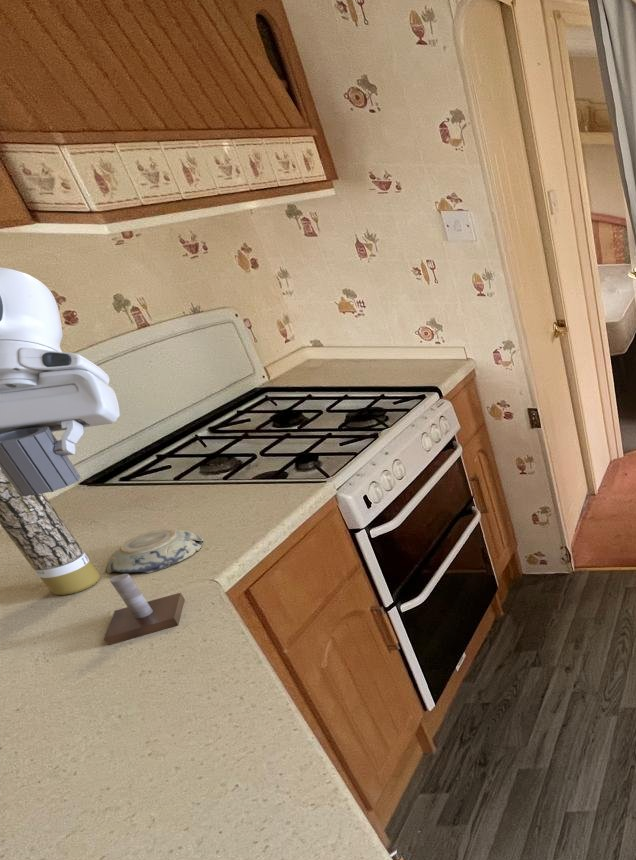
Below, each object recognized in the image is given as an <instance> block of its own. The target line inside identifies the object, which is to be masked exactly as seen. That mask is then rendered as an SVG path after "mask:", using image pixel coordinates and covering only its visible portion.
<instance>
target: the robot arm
mask: <svg viewBox="0 0 636 860" xmlns="http://www.w3.org/2000/svg"><path fill="white" fill-rule="evenodd" d="M63 333H64V332H63V324H62V317H61V314H60V310H59V306H58V303H57V301H56V298H55V296H54V294H53V293H52V291H51V290H50V289H49V288H48V287H47V285H46V284H44V283H43V282H42V281H40V279H37V278H36V277H34V276H32V275H30V274H28V273H25V272H22V271H20V270H16V269H12V268H8V267H1V266H0V433H1V432H5V431H9V430H13V429H14V430H15V429H17V428H23V427H29V426H30V427H31V426H46V427H49V429H50V430H51V432H52V433H54V432H60V431H64V432H63V434H62V436H61V438H60V439H59V440H57V441H53V442H54V443H53V444H54V446H55V447H54V451H55V453H57V454H60V456H67V457H68V456H73V455H76V454H77V453H76V445H77V444H78V442H79V441H80V440H81V438H82V437H83V435H84V434H85V429H84V428H89V427H90V428H91V427H98V426H105V425H111V424H114V423H116V422H117V420H119V418H120V416H121V411H120V404H119V401H118V397H117V394H116V392H115V390H114V388H113V387H111V386H110V385H109V384H110V376H109V375H108V374H107V372H105V370H104V369H102V368H101V367H99V366H98V365H96V364H95V363H94V362H92V361H91V360H89V358H86V357H84V356H82V355H81V354H78V353H74V352H65V351H63V350H62V348H61V343H62V341H63V338H64V334H63Z"/></svg>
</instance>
